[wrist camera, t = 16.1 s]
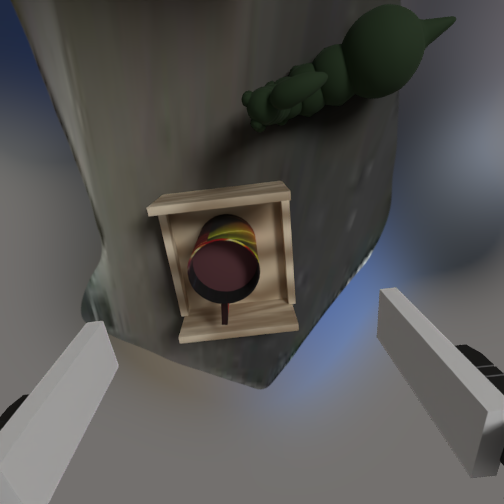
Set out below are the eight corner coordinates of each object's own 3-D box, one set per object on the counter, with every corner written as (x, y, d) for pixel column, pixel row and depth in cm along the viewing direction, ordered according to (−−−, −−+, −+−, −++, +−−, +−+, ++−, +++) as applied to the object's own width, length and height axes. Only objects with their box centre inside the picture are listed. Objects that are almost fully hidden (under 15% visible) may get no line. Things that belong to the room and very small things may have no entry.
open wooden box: (159, 194, 48) (142, 208, 40) (285, 180, 48) (294, 190, 40) (185, 312, 57) (176, 344, 48) (293, 300, 57) (302, 329, 48)
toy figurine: (264, 145, 48) (427, 73, 43) (262, 161, 30) (536, 42, 25) (240, 83, 44) (414, -3, 39) (223, 60, 27) (529, -98, 22)
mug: (225, 294, 55) (222, 336, 43) (188, 228, 50) (173, 257, 39) (274, 273, 53) (283, 311, 42) (240, 204, 48) (241, 226, 37)
